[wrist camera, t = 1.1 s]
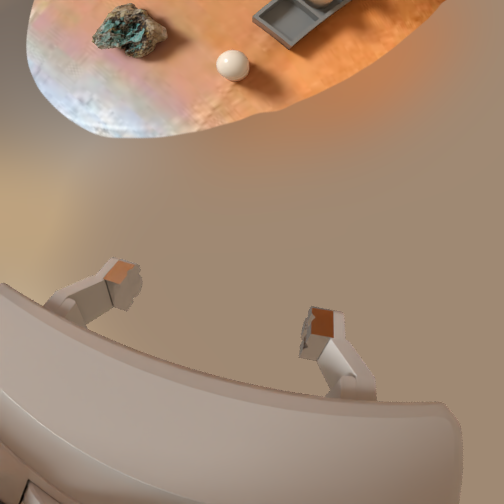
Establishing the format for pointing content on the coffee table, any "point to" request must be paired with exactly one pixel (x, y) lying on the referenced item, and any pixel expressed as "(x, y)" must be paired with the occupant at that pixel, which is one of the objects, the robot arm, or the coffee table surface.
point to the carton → (294, 18)
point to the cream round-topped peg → (233, 65)
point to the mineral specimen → (130, 31)
